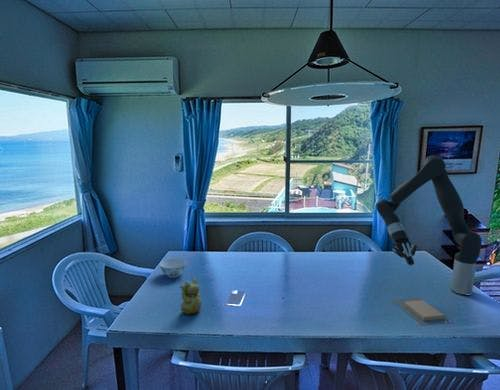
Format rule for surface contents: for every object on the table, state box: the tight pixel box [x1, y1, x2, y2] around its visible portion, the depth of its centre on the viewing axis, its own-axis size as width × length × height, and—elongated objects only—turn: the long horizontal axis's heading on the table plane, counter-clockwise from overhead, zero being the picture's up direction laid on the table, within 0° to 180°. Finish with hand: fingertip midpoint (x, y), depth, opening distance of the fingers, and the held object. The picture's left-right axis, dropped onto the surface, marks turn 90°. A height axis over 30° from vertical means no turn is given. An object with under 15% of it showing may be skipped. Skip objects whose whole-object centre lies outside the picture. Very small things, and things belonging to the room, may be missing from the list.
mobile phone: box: [225, 289, 247, 308], centre depth 154 cm, size 8×1×15 cm
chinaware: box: [159, 257, 187, 279], centre depth 179 cm, size 15×15×8 cm
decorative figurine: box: [179, 277, 202, 316], centre depth 140 cm, size 10×8×15 cm
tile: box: [404, 299, 445, 321], centre depth 141 cm, size 2×10×13 cm
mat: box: [390, 296, 454, 326], centre depth 142 cm, size 22×16×1 cm
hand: (411, 264), depth 150 cm, fingers closed
